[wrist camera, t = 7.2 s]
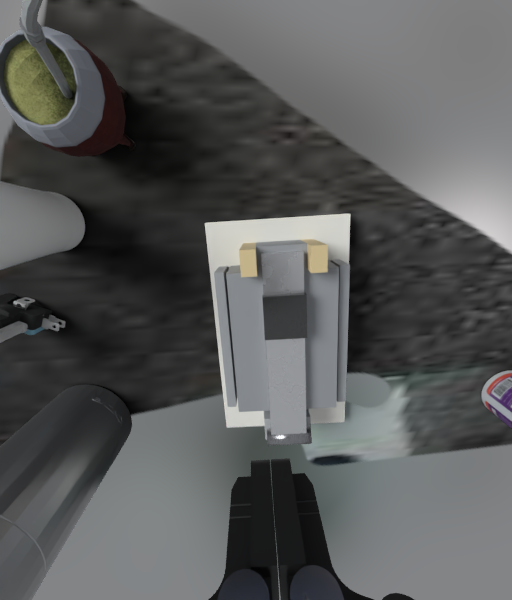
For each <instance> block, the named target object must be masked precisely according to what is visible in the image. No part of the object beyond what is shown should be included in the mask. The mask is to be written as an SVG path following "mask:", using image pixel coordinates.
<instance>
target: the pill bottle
mask: <svg viewBox="0 0 512 600" xmlns="http://www.w3.org/2000/svg"><path fill="white" fill-rule="evenodd" d="M481 396H482V401H483V403H484V405H485V406H486V407H487V408H488V409H489V410H490V411H491V412H492V413H493V414H494V415H496V416H497V417H498V418H499V419H501V420H502V421H503V422H504V423H505V424H507V425H508V426H509V427H510V428H511V429H512V370H510V371H503V372H500V373H498V374H496V375H494V376H493V377H491V378H490V379H489V380H488V381H487V382H486V383H485V385H484V387H483V389H482V395H481Z"/></svg>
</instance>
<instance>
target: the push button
mask: <svg viewBox="0 0 512 600" xmlns="http://www.w3.org/2000/svg"><path fill="white" fill-rule="evenodd" d="M24 300H30V301H24ZM33 302H35V300H34V299H31V298H28V297H24V298H21V299H17V296H16V295H13V294H4V295H1V296H0V343H1V342H3V341H5V340H7V339H9V338H11V337H13V336H15V335H18V334H19V333H25V334H28V335H34V334H36V333H38V332H40V331H41V330H43V329H48V328H49V329H52V330H55V331H59V327H62V328H64V327H65V323H66V322H65V321H63V320H60V319H57V318H55V316H52V311H51V310H48V309H45V308H42V307H39V306H36V305H33V304H30V303H33ZM59 321H60V322H61V323H62V325H59V323H58V322H59ZM54 325H55V326H56V328H53V327H52V326H54Z"/></svg>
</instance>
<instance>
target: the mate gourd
mask: <svg viewBox="0 0 512 600" xmlns="http://www.w3.org/2000/svg"><path fill="white" fill-rule="evenodd" d="M41 3H42V0H23V2H22V11H21V18H20V27H21V29H20V30H18V31H17V32H15V33H13V34H12V35H11V36H9V37H8V38H6V39H5V40H4V41H3V42H2V44H1V46H0V97H1V100H2V102H3V103H4V105H5V107H6V108H7V110H8V111H9V113H10V114H11V116H12V117H13V119H14V120H15V122H16V123H17V125H18V126H19V127H21V128H22V129H23V130H24V131H26V132H27V133H28V134H29V135H31V136H32V137H33V138H34V139H35V140H37V141H40V142H41V143H42V144H43V145H45V146H46V147H48V148H51V149H53V150H56V151H59V152H62V153H65V154H68V155H71V156H77V157H80V156H93V155H99V154H102V153H104V152H106V151H107V150H109V149H111V148H113V147H115V146H116V145H118V144H122V145H124V146H125V147H126V148H128V149H129V150H130V151H133V150H134V148H135V147H136V143H135V142H134V141H133V140H132V139H131V138H129V137H128V136H127V135H126V134H125V133H124V128H125V119H126V115H125V109H124V104H123V103H124V101H125V99H126V98H127V96H128V95H127V93H126V92H125V90H124V89H123V88H122V87H121V86H118V85H117V83H116V81H115V79H114V77H113V75H112V73H111V72H110V71H109V69H108V67H107V66H106V65H105V64H104V62H102V61H101V60H100V59H99V58H98V57H97V56H96V55H95V54H94V53H92V52H91V51H90V50H89V49H88V48H87V47H86V46H84V45H83V44H82V43H81V42H79V41H78V40H76V39H73V38H72V37H70V36H69V35H67V34H64V33H62V32H59V31H56V30H53V29H51V28H48V27H41V26H40V24H39V23H38V22H37V16H38V11H39V8H40V6H41Z"/></svg>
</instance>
